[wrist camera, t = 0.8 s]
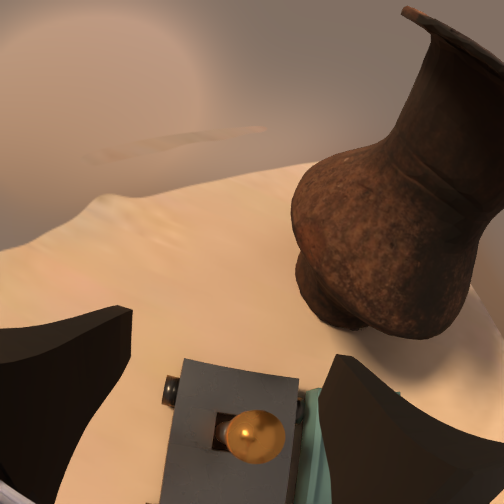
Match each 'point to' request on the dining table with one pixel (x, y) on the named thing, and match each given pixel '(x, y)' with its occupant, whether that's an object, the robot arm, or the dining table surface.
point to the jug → (408, 200)
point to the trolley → (202, 430)
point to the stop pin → (252, 436)
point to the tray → (312, 458)
